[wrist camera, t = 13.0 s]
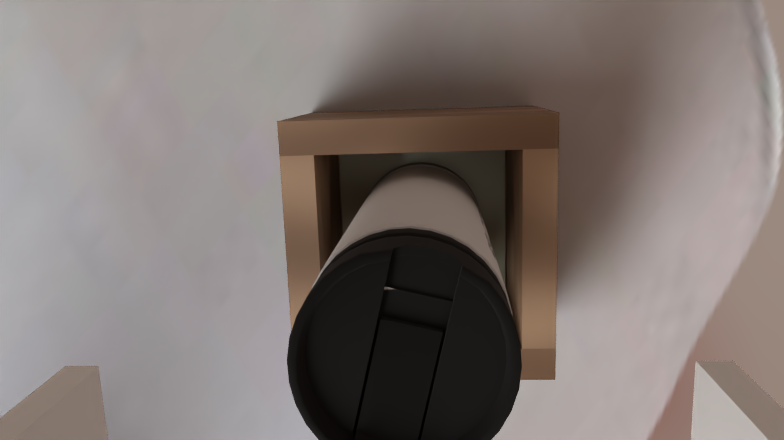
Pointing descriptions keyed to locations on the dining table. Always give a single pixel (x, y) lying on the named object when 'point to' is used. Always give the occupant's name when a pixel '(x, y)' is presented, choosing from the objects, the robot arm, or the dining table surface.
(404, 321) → the travel mug
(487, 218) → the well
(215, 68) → the dining table surface
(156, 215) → the dining table surface
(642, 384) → the dining table surface
